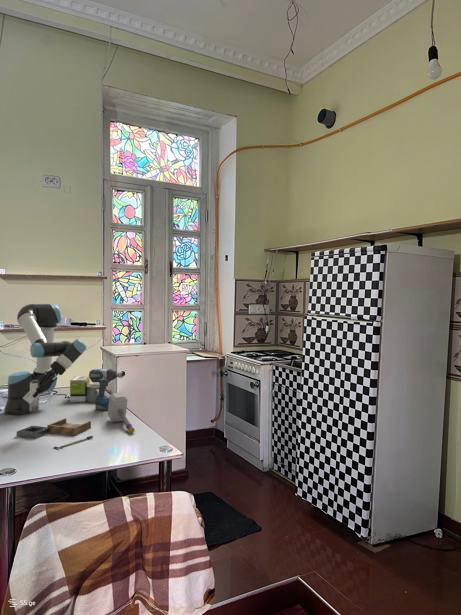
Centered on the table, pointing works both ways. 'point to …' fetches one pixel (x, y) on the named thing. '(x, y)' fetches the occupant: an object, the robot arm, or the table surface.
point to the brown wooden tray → (68, 427)
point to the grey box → (92, 392)
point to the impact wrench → (103, 385)
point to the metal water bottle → (35, 403)
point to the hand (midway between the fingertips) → (26, 400)
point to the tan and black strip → (73, 443)
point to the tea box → (79, 388)
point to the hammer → (119, 410)
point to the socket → (33, 432)
